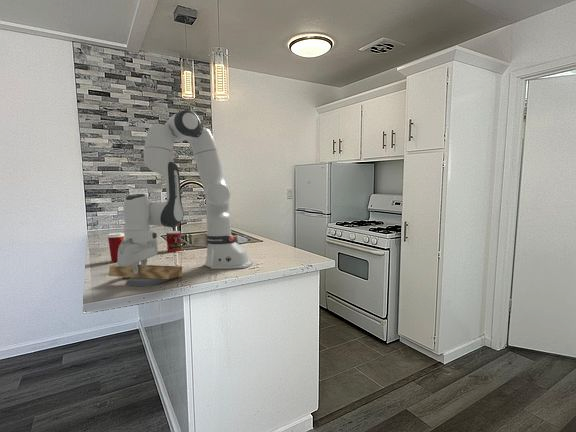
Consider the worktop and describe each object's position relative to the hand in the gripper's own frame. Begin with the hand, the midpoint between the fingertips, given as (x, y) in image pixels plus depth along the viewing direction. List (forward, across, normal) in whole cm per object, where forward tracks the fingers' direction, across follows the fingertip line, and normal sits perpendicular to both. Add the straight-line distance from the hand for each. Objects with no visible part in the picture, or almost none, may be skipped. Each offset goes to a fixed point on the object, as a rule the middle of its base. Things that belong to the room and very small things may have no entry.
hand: (139, 272), depth 125 cm
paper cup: (+5, +33, +35) cm, 49 cm away
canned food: (+5, +60, +18) cm, 63 cm away
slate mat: (+5, +5, 0) cm, 7 cm away
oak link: (+3, +4, 0) cm, 5 cm away
